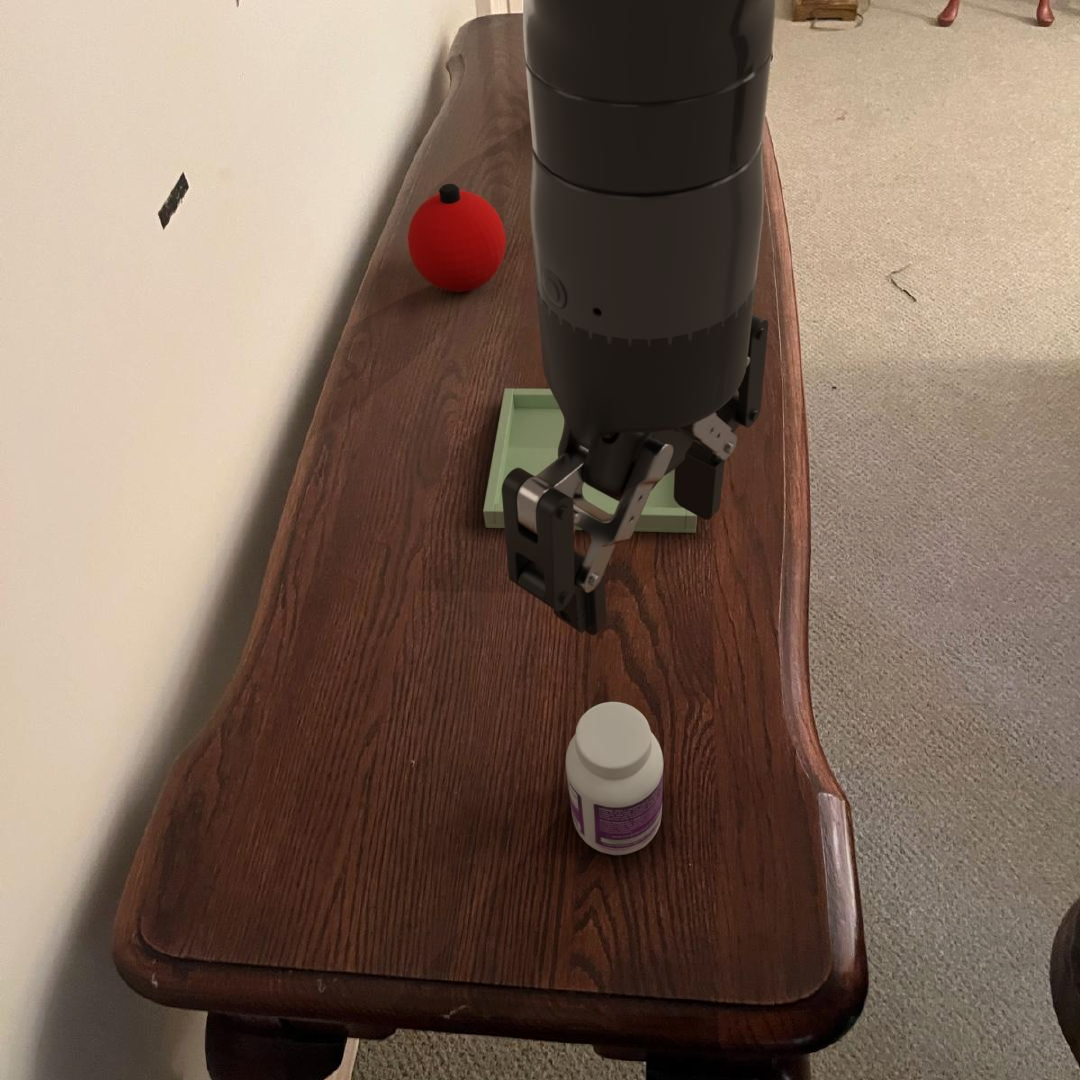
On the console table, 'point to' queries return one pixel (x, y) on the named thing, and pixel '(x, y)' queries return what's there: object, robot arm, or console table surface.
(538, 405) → the tray
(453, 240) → the ornament
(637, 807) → the pill bottle
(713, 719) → the console table surface
